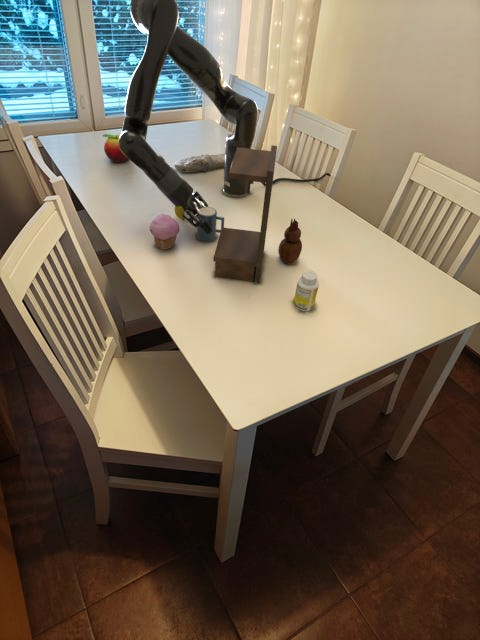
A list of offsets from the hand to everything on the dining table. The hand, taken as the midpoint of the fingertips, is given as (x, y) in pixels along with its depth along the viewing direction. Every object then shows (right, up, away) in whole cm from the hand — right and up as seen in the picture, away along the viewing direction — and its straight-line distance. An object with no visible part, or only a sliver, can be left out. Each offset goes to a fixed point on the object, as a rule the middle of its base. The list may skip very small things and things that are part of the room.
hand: (212, 226), depth 138 cm
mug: (-1, -3, +3) cm, 4 cm away
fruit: (-40, +36, +41) cm, 68 cm away
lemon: (-10, +4, +9) cm, 14 cm away
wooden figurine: (+24, -11, -4) cm, 26 cm away
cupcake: (-14, -7, -3) cm, 16 cm away
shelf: (+8, -13, -7) cm, 17 cm away
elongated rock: (-2, +34, +43) cm, 55 cm away
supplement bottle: (+26, -26, -19) cm, 41 cm away
